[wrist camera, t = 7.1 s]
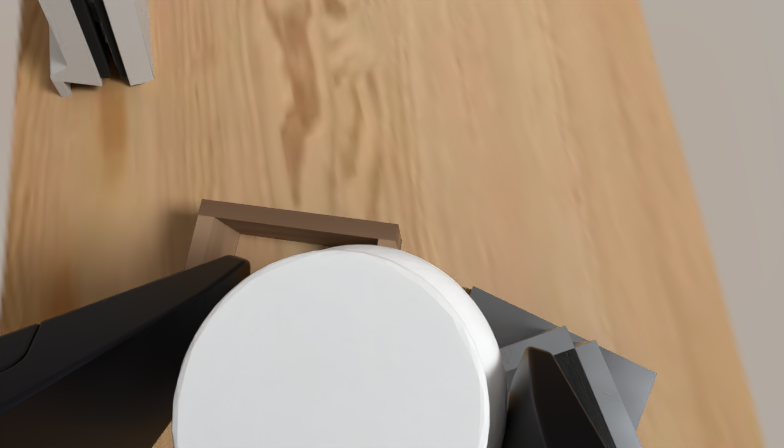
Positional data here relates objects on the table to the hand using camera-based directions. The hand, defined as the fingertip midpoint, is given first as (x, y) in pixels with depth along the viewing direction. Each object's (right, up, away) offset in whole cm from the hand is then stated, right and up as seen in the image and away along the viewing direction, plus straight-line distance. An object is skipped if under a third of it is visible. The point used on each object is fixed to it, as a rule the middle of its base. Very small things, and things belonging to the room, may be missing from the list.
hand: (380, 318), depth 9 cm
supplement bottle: (0, -3, +6) cm, 7 cm away
